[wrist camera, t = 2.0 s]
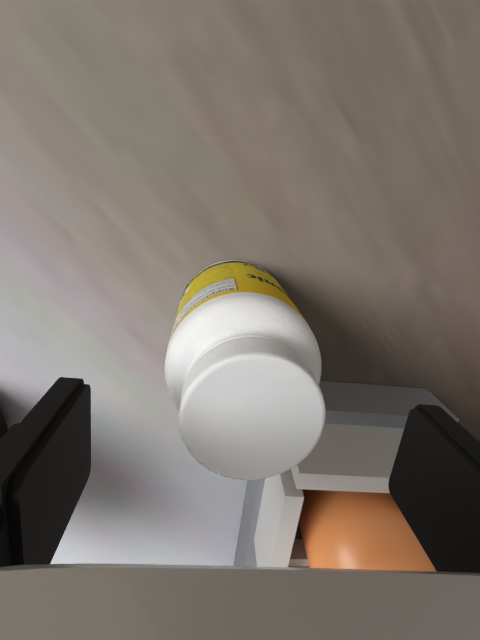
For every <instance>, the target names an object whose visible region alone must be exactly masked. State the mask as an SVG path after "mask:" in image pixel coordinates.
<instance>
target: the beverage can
mask: <svg viewBox="0 0 480 640" xmlns="http://www.w3.org/2000/svg"><path fill="white" fill-rule="evenodd" d="M7 431H8V428H7V425H6V422H5V420H4V417H3V415H2V413H1V411H0V439H1V438H2V437H3V435H4V434H5V433H6V432H7Z"/></svg>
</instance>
